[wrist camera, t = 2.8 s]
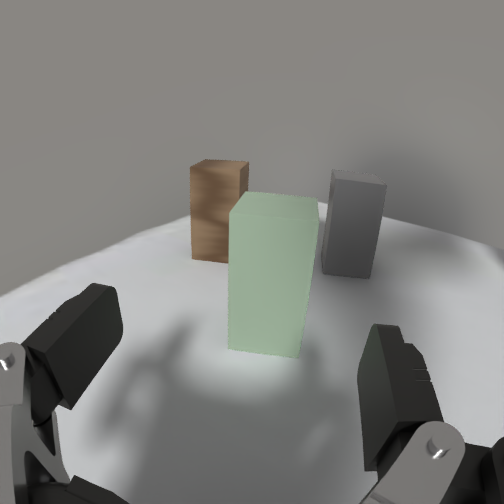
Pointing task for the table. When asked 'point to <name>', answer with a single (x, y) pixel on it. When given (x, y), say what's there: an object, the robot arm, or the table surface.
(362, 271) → the charcoal block
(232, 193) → the walnut block
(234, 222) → the sage block
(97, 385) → the table surface
